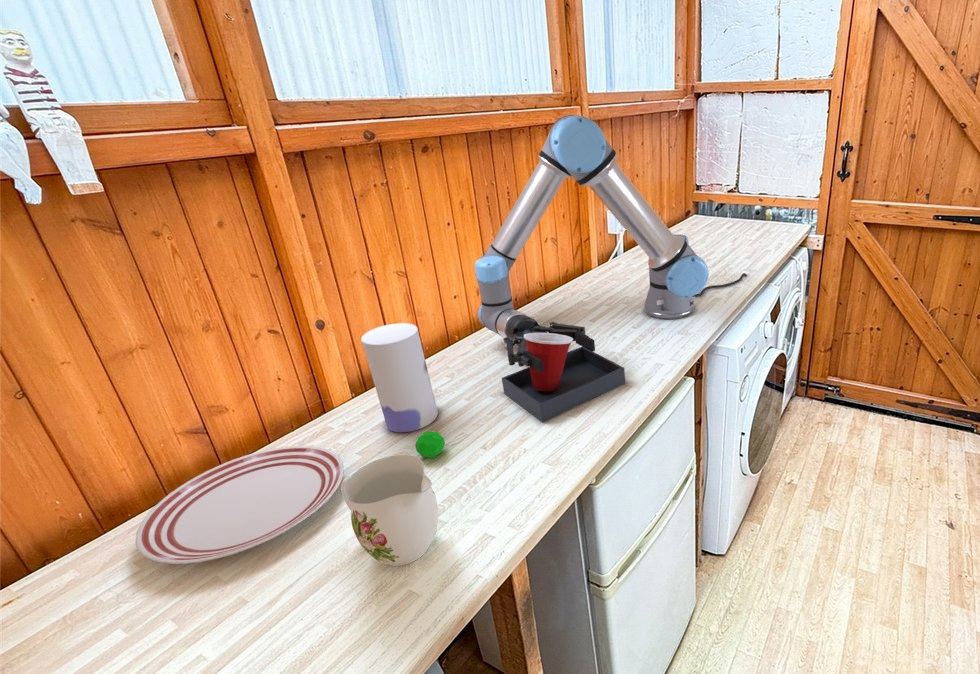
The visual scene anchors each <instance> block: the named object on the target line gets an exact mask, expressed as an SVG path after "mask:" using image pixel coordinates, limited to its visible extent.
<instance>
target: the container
mask: <svg viewBox="0 0 980 674" xmlns="http://www.w3.org/2000/svg"><path fill="white" fill-rule="evenodd" d="M360 339H361V344H362V347H363V351H364V354H365V358H366V360H367V364H368V367H369V371H370V375H371V378H372V381H373V385H374V388H375V390H376V395H377V398H378V401H379V404H380V408H381V412H382V415H383V418H384V421H385V425H386V427H387V429H388V430H390V431H391V432H394V433H410V432H414V431H418V430H421V429H423V428H425V427H427V426H429V425H430V424H431V423H433V422H434V421H435V420H436V419H437V417H438V415H439V410H438V407H437V403H436V399H435V394H434V390H433V387H432V382H431V378H430V374H429V371H428V370H429V369H428V366H427V363H426V359H425V353H424V350H423V345H422V341H421V337H420V334H419V329H418V326H416V325H415V324H412V323H406V322H403V323H402V322H398V323H390V324H385V325H380V326H377V327H375V328H372V329H370V330H369V331H367V332H365V333H364V334H363V335H362V337H361V338H360Z"/></svg>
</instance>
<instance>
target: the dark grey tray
mask: <svg viewBox="0 0 980 674" xmlns="http://www.w3.org/2000/svg"><path fill="white" fill-rule="evenodd" d="M501 383H502V389H503V394H504V395H505V396H507V397H508V398H509V399H511V400H512V401H513V402H514V403H516V404H517V405H518V406H520V407H521V408H523V409H524V410H525V411H526V412H528V413H529V414H531V416H533V417H534V418H536V419H537V420H538V421H540V422H541V423H545V422H547V421H549V420H550V419H553V418H556V417H557V416H559V415H561V414H563V413H566V412H567V411H570V410H572V409H574V408H576V407H578V406H580V405H583V404H585V403H587V402H589V401H591V400H593V399H596V398H597V397H600V396H602V395H604V394H606V393H608V392H610V391H612V390H615V389H616V388H618V387H620V386H624V385H625V384H626V373H625V367H624V366H622V365H620V364H617V363H616V362H614V361H611V360H610V359H609V358H606V357H604V356H602V355H601V354H598V353H597V352H595V351H593V352H592V351H590V350H588V349H586V348H584V347H582V346H579V347H577V348H574V349H572V350H568V353H567V356H566V360H565V364H564V368H563V373H562V375H561V379H560V384H559V386H558V389H556V390H554V391H539V390H536V389H534V388H533V385H532V380H531V373H530V367H529V366H527V367H526V368H523V369H521V370H518V371H516V372H513V373H511V374H507V375H505V376H503V377H501Z"/></svg>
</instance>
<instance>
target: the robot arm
mask: <svg viewBox="0 0 980 674" xmlns="http://www.w3.org/2000/svg"><path fill="white" fill-rule="evenodd" d="M537 156H538V164H537V165H536V167H535V168H534V169H533V172H532V174H531V175H530V177H529V179H528V180H527V182H526V184H525V185H524V187H523V189H522V190H521V192H520V194H519V196H518V197H517V199H516V200H515V203H514V204H513V206H512V208H511V210H510V211H509V213H508V215H506V218H505V220H504V221H503V223H502V224H501V226H500V228H499V229H498V231H497V233H496V235H495V237H494V239H492V242H491V244H490V246H489V247H488V249H487V251H485V252H484V253H483V255H482V256H481V258H479V259H477V260H476V261H475V262H474V268H475V278H476V281H477V286H478V290H479V291H478V292H479V296H480V302H481V304H480V305H479V307H478V311H477V318H478V321H479V323H481V325H483V326H484V327H485V328H486V329H487V330H489V331H491V332H493V333H495V334H496V335H499V336H500V337H502V338H503V345H504V349H505V350H506V352H507V358H508V359H507V360H508V365H509V366H514V365H515V364H516V363H517V364H518V367H524V366H525V367H529V366H530V367H532V368H534V369H535V370H537V371H538V372H540V373H542V372H544V369H543V362H542V360H541V359H539V358H537V357H536V356H534V355H532V354H531V353H529V352H528V350H527V345H526V341H525V338H524V335H525V334H528V333H553V334H560V335H565V336H569V337H571V338H573V341H572V342H575V344H576V345H578V346H579V347H584V348H586V349H588V350H590V351H592V352H595V351H596V344H595V339H593V338H591V337H590V336H589V335H587V334H586V327H585V326H581V325H572V324H564V323H558V322H556V321H550V322H549V325H548V326H544V325H540V323H539V322H538V321H537V320H536V319H535V318H533V317H530V316H529V315H527V314H525V313H523V312H521V311H519V310H517V309H515V308H514V304H513V298H512V297H513V296H512V292H511V285H510V271H511V269H512V267H513V266H514V264H515V262H516V260H517V259H518V257H519V255H520V253H521V252H522V250H523V249H524V247H525V245H526V244H527V242H528V240H529V238H531V235H532V234H533V232H534V231H535V229H536V227H537V226H538V224H539V222H540V220H541V219H542V217H543V216H544V214H545V213H546V211H547V209H548V208H549V206H550V205H551V202H552V201H553V200H554V198H555V196H556V194H557V193H558V191H559V190H560V188H561V186H562V185H563V183H564V181H565V180H566V179H569V178H573V179H574V180H575V182H576V183H577V184H578V185H579V186H580V187H588V188H589V189H591V190H592V192H593V193H594V194H595V195H596V196H597V198H598V199H599V201H601V202H602V204H603V205H604V206H605V207H606V208H607V209H608V211H609V212H610V213H611V214H612V215H613V217H614V218H615V219H616V220H617V221H618V223H620V225H621V226H622V227H623V228H624V230H625V231H626V232H627V233H628V234H629V235H630V237H631V238H632V239H633V240H634V241H635V243H636V244H637V245H638V246H639V248H641V250H642V251H643V252H644V253H645V254H646V256H647V258H648V263H647V264H648V275H649V277H648V279H649V288H648V291H647V295H646V297H645V298H646V299H645V301H644V312H645V314H646V315H648V316H649V317H652V318H654V319H660V320H677V319H682V318H686V317H688V316H690V315H692V314H693V313H694V312H695V302H694V298H699V297H701V296H702V295H704V293H705V291H707V290H711V289H717V288H725V287H730V286H733V285H735V284H738V283H739V282H741V281H742V280H743V278H744V277H748V275H747V273H745V272H743V273H742V274H741V275H740V277H739V278H738V279H736V280H734V281H732V282H728V283H725V284H724V283H723V284H714V285H709V286H706V285H707V283H708V279H709V268H708V266H707V263H706V261H705V260H704V259H703V258H701V256H698V254H697V253H696V252H695V251H694V250H693V248H692V247H691V246H690V242H689V237H688V236H687V235H685V234H673V233H672V231H671V230H670V228H669V227H668V226H667V225H666V224H665V222H664V221H663V220H662V219H661V217H660V216H659V215H658V214H657V212H656V211H655V210H654V208H653V207H652V206H651V205H650V203H648V201H647V200H646V198H645V197H644V196H643V194H641V192H640V191H639V190H638V188H637V187H636V186H635V185H634V183H633V182H632V181H631V180H630V178H629V177H628V176H627V175H626V173H625V172H624V171H623V170H622V168H621V167H620V165H619V164H618V162H617V158H618V157H617V156H618V153H617V152H616V150H615V149H614V148H613V147H612V145H611V144H610V143H609V141H608V140H607V139H606V137H605V134H604V133H603V130H602V129H601V127H600V126H599V125H598V124H597V123H596V122H595V121H593V120H592V119H590V118H589V117H587V116H583V115H579V114H578V115H577V114H576V115H575V114H567V115H563V116H561V117H559V118H558V119H557V120H556V121H554V123H553V124H552V125H551V127H550V130H549V132H548V135H547V138H546V140H545V142H544V144H543V146H542V147H541V150H540V152H539V153H538V155H537ZM515 346H517V347H518V348H517V350H516V353H515V352H514V349H515Z"/></svg>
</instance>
